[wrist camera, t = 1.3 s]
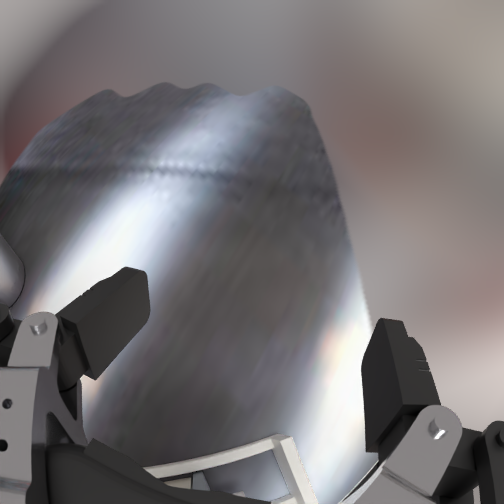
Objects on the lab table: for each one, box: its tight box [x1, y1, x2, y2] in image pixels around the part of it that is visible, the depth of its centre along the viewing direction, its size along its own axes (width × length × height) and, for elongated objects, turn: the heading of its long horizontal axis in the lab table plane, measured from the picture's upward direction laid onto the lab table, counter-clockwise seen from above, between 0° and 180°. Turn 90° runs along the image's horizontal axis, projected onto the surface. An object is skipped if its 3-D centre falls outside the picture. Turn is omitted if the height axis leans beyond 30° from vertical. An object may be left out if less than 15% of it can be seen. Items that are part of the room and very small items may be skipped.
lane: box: [143, 434, 319, 504], centre depth 19 cm, size 22×9×5 cm, turn 110°
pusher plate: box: [193, 471, 245, 497], centre depth 18 cm, size 4×6×8 cm, turn 20°
